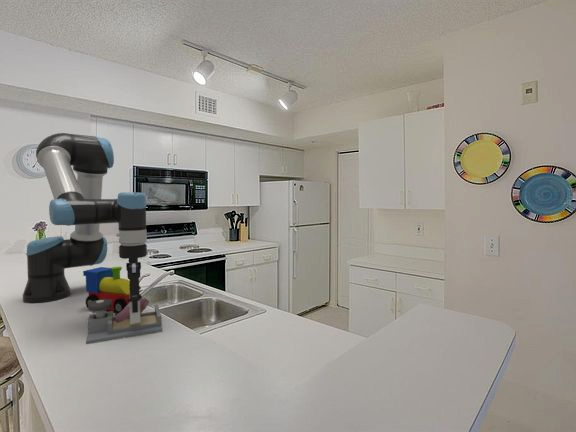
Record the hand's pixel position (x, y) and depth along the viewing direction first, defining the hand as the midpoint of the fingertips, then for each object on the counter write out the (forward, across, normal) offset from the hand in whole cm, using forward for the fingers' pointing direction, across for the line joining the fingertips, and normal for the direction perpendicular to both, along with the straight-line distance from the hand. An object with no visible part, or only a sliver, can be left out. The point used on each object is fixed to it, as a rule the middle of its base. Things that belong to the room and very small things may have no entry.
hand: (134, 316), depth 100 cm
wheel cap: (0, 0, -9) cm, 9 cm away
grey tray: (+3, 0, -2) cm, 4 cm away
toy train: (+3, -21, -7) cm, 22 cm away
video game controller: (0, 0, 0) cm, 1 cm away
